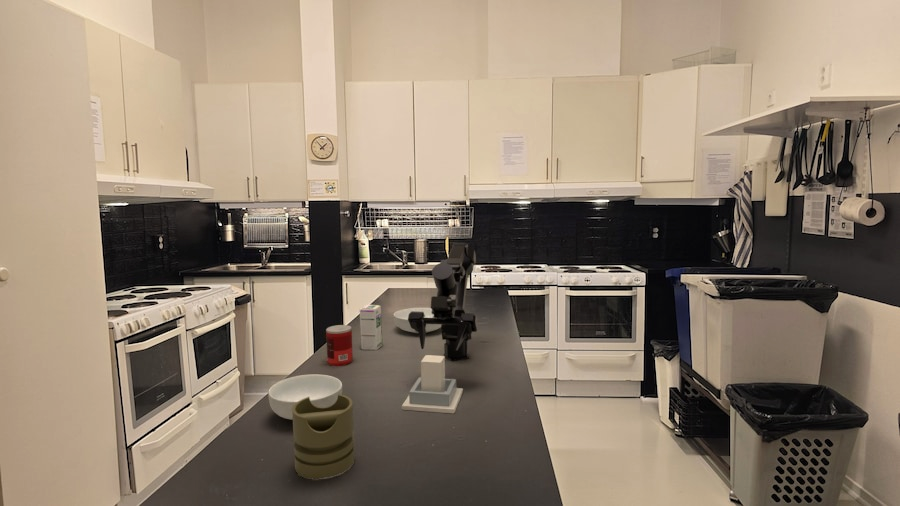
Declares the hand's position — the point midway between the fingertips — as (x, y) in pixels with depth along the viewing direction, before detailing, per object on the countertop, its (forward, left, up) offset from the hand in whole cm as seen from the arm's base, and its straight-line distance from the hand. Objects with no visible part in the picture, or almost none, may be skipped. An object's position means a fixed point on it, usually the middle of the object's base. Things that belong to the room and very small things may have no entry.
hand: (438, 349), depth 130 cm
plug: (+4, +6, -10) cm, 12 cm away
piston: (+34, +24, -11) cm, 43 cm away
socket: (+4, +6, -11) cm, 13 cm away
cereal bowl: (+34, 0, -12) cm, 36 cm away
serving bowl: (-17, -57, -12) cm, 61 cm away
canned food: (+19, -34, -11) cm, 41 cm away
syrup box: (+6, -44, -11) cm, 46 cm away
